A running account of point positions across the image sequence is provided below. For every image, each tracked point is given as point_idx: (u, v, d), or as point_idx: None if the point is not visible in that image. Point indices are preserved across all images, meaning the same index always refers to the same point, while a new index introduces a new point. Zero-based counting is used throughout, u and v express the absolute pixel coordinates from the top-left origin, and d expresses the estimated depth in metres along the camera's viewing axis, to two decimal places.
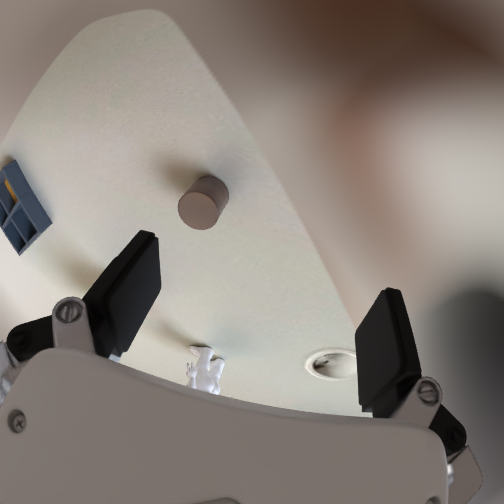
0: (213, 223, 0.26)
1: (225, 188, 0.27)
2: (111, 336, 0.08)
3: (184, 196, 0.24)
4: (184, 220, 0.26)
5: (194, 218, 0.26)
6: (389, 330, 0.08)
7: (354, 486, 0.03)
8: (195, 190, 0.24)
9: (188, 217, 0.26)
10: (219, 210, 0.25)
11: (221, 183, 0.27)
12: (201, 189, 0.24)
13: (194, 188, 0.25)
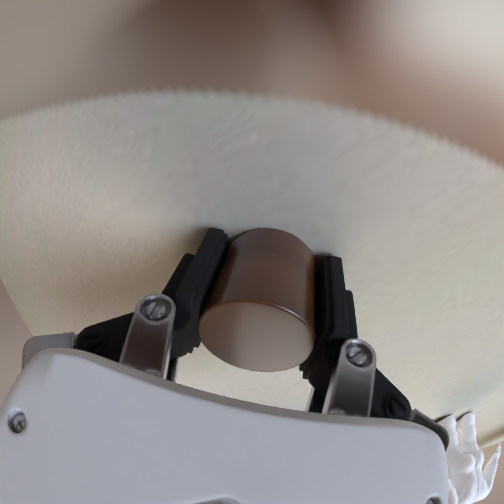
0: (311, 339, 0.08)
1: (278, 235, 0.10)
2: (190, 332, 0.09)
3: (201, 334, 0.09)
4: (254, 369, 0.10)
5: (266, 356, 0.09)
6: (323, 293, 0.10)
7: (354, 486, 0.03)
8: (204, 309, 0.09)
9: (254, 361, 0.10)
10: (295, 304, 0.08)
11: (261, 233, 0.11)
12: (215, 292, 0.09)
13: (205, 301, 0.09)
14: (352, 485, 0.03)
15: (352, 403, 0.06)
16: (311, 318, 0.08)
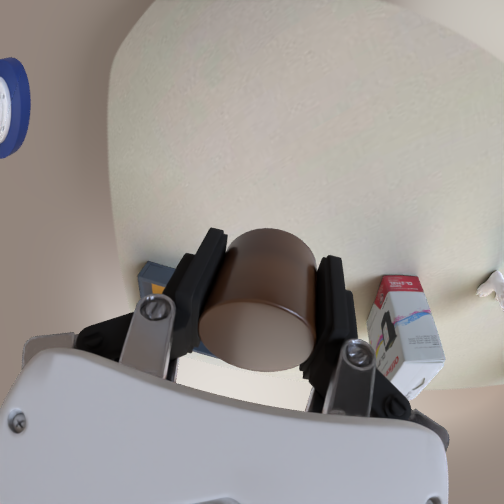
0: (311, 339, 0.08)
1: (279, 235, 0.10)
2: (190, 332, 0.09)
3: (201, 334, 0.09)
4: (255, 369, 0.10)
5: (266, 356, 0.09)
6: (323, 293, 0.10)
7: (354, 486, 0.03)
8: (204, 309, 0.09)
9: (254, 361, 0.10)
10: (296, 303, 0.08)
11: (261, 233, 0.11)
12: (215, 292, 0.09)
13: None
14: (352, 485, 0.03)
15: (352, 403, 0.06)
16: (311, 318, 0.08)
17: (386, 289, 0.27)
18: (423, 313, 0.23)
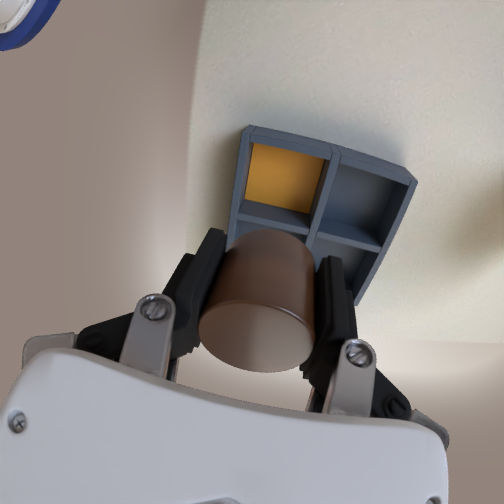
0: (310, 340, 0.08)
1: (278, 236, 0.10)
2: (190, 332, 0.09)
3: (201, 335, 0.09)
4: (254, 369, 0.10)
5: (266, 357, 0.09)
6: (323, 293, 0.10)
7: (354, 486, 0.03)
8: (204, 310, 0.09)
9: (254, 362, 0.10)
10: (295, 305, 0.08)
11: (261, 234, 0.11)
12: (215, 293, 0.09)
13: (205, 302, 0.09)
14: (352, 485, 0.03)
15: (352, 403, 0.06)
16: (311, 319, 0.08)
17: None
18: None
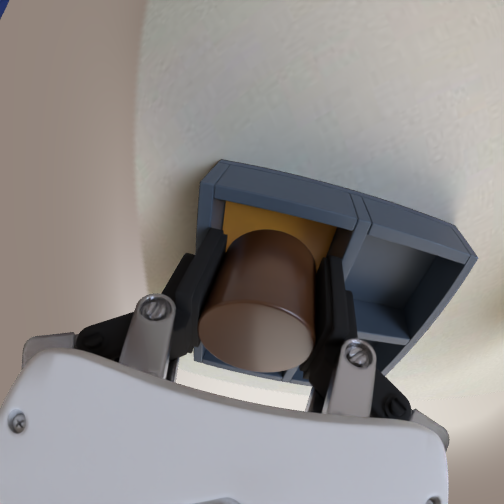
0: (311, 340, 0.08)
1: (278, 236, 0.11)
2: (190, 332, 0.09)
3: (201, 335, 0.09)
4: (254, 369, 0.10)
5: (266, 357, 0.09)
6: (323, 293, 0.10)
7: (354, 486, 0.03)
8: (204, 310, 0.09)
9: (254, 361, 0.10)
10: (295, 304, 0.08)
11: (261, 234, 0.11)
12: (215, 293, 0.09)
13: (205, 302, 0.09)
14: (352, 485, 0.03)
15: (352, 403, 0.06)
16: (311, 319, 0.08)
17: None
18: None
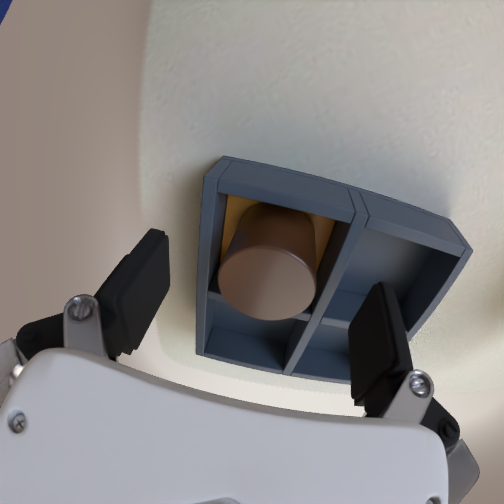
0: (312, 283, 0.11)
1: None
2: (122, 334, 0.08)
3: (220, 283, 0.11)
4: (264, 317, 0.12)
5: (275, 302, 0.11)
6: (380, 323, 0.09)
7: (354, 486, 0.03)
8: (225, 258, 0.11)
9: (264, 308, 0.12)
10: (299, 252, 0.10)
11: (269, 204, 0.13)
12: (234, 245, 0.11)
13: None
14: (352, 485, 0.03)
15: None
16: (312, 265, 0.11)
17: None
18: None
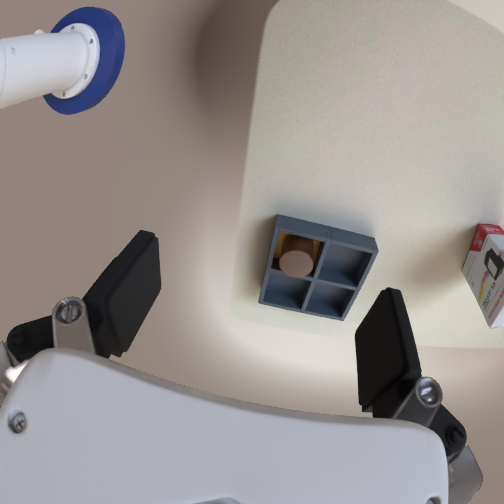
0: (311, 262, 0.32)
1: None
2: (111, 336, 0.08)
3: (280, 263, 0.32)
4: (295, 276, 0.33)
5: (299, 270, 0.32)
6: (389, 330, 0.08)
7: (354, 486, 0.03)
8: (282, 254, 0.32)
9: (295, 272, 0.33)
10: (307, 252, 0.31)
11: None
12: (285, 250, 0.32)
13: (281, 253, 0.33)
14: (352, 485, 0.03)
15: None
16: (311, 256, 0.32)
17: (485, 233, 0.26)
18: None
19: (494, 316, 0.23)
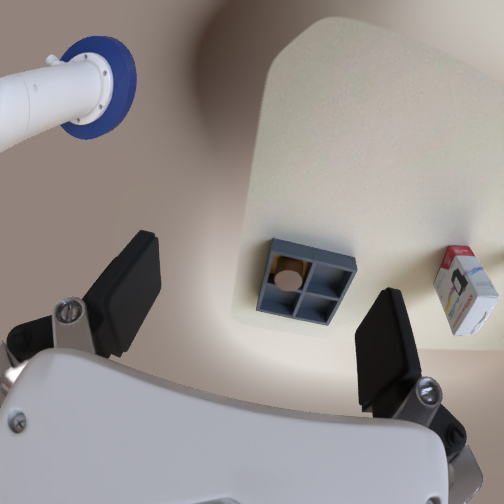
0: (301, 279, 0.38)
1: None
2: (111, 336, 0.08)
3: (275, 280, 0.39)
4: (287, 290, 0.40)
5: (290, 285, 0.39)
6: (389, 330, 0.08)
7: (354, 486, 0.03)
8: (277, 273, 0.39)
9: (287, 287, 0.40)
10: (297, 271, 0.38)
11: None
12: (279, 269, 0.39)
13: (276, 271, 0.39)
14: (352, 485, 0.03)
15: None
16: (301, 274, 0.38)
17: (453, 254, 0.34)
18: (479, 268, 0.30)
19: (457, 326, 0.30)
